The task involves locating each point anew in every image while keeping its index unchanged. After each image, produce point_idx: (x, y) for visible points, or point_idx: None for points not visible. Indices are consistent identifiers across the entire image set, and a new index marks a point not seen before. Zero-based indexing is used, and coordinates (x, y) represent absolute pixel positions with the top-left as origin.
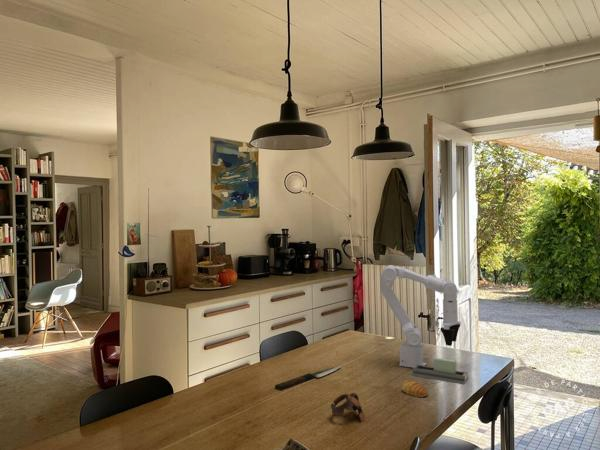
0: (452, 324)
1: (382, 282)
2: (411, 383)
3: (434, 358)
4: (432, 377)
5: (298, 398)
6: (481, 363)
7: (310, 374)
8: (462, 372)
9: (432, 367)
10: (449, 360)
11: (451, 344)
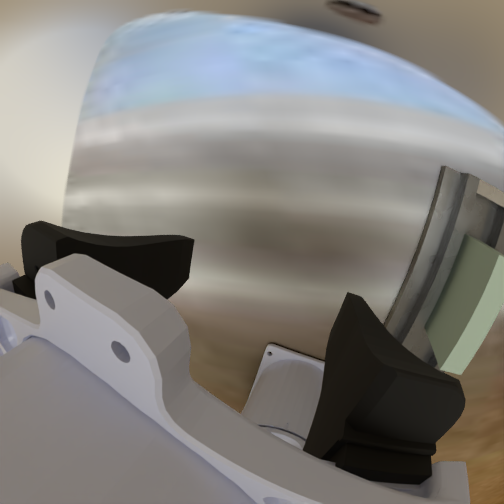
0: (375, 500)
1: None
2: None
3: (455, 371)
4: None
5: (490, 495)
6: (183, 92)
7: None
8: (472, 201)
9: (406, 344)
10: (497, 293)
11: (363, 300)
